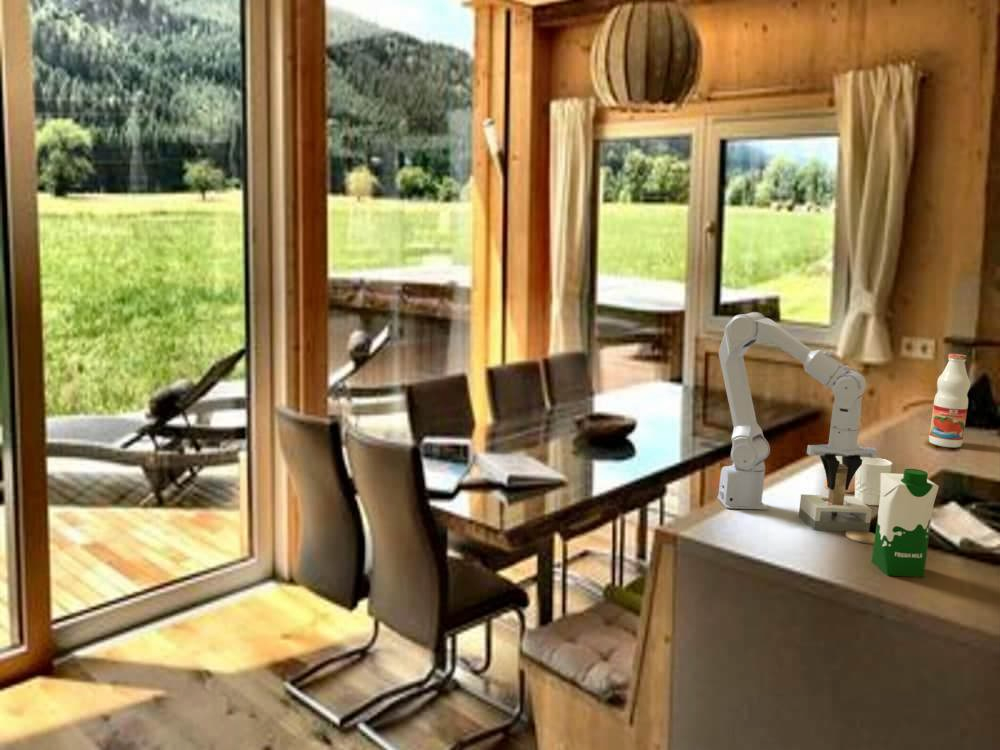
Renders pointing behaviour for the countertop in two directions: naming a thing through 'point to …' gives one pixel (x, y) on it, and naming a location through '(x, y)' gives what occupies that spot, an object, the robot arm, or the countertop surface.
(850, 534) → the coaster
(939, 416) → the fruit juice
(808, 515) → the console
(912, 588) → the countertop surface
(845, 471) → the stick
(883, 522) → the milk carton
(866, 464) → the white cup
